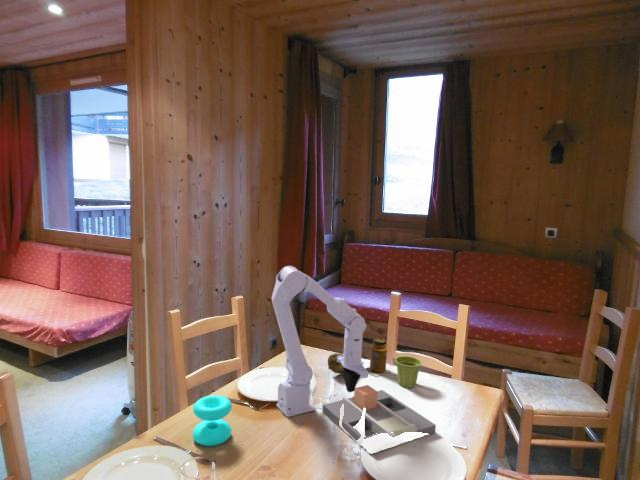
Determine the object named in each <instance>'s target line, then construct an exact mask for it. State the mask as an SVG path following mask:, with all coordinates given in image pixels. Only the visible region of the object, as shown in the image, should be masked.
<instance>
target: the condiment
mask: <svg viewBox="0 0 640 480" xmlns="http://www.w3.org/2000/svg"><path fill="white" fill-rule="evenodd" d="M387 352H388V348H387V340H386V339H385V338H380V337H379V338H373V339H372V344H371V346H370V357H369V358H370V361H369V366H368V367H364V368H365V369H366V370H367V371H368V375H372V376H374V377H376V378H377V377H379V376H382V375H385V374H386V373H389V372H390V371H391V370H389V369H387Z"/></svg>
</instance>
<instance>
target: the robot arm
mask: <svg viewBox="0 0 640 480" xmlns="http://www.w3.org/2000/svg"><path fill="white" fill-rule="evenodd" d="M300 292H304V293H311V294H312V295H314V296H315V297H316V298H317V299H319V300H320V301H321V302H322V303H324V304H325V305H326V311H327V313H329V314H330V315H331V316H332V317H333V318H334V319H336V320H337V321H338V322H339V323H340V324H342V326H344V335H343V336H344V338H343V355H340V356H337V362H341V364H342V366H343V367H344V368H342V369H341V372H342V374H343V375H342V374H341V375H342V376H343V378H344V379H343V380H344V383H345V389H346V391H347V392H348V393H352V392H355V388H357V383H358V382H359V380H360V378H362V379H366V378H368V377H369V373H368V371H367V370H366V369H365V368H366V367H365V366H364V361H362V354H363V353H362V350H363V336H364V335H363V334H364V332H365V331H366V329H367V326H368V325H367V323H366V321H365V318H364V317H363V316H362V315H360V314H359V313H358V312H357V311H358V310H357V309H356V308H354V307H351V306H350V305H349V304H347V301H348V300H346V299H345V298H343V297H342V298H341V297H339V296H338V297H333V295H331V294H330V293H329V292H328V291H327V290H326V289H324V288H323V286H322V285H321V284H319V283H318V282H317V281H316V280H314V278H312V277H311V276H309V275H307V274H305V273H303V272H302V271H300V270H298V268H297V267H295V266H293V265H287V266H284V267H282V268H281V270H279V272H278V274H276V276H275V284H274V288H273V291H272V295H271V302H272V307H273V309H274V314H275V317H276V320H277V323H278V327H279V331H280V334H281V339H282V342H283V346H284V348H285V349H284V350H285V357H286V362H285V368H286V370H287V371H288V375H287V377H286V380H285V381H283V382H281V383H279V385H278V387H277V403H276V407H277V408H278V409H279V410H280V412H281V413H283V414H284V416H285V417H287V418H289V417H294V416H297V415H300V414H304V413H308V412H313V411H316V410H315V409H316V408H315V407H313V405H311V403H310V397H311V396H310V394H311V393H310V392H311V380H312V378H313V376H314V371H313V369H312V367H311V366H310V365H309V364H308V362H307V359H306V356H305V354H304V352H303V348H302V345H301V342H300V337H299V334H298V331H297V326H296V324H295V323H296V322H295V319H294V316H293V312H292V308H291V305H290V302H291V301H292V300H293V298H295V296H296V295H298V294H299V293H300Z"/></svg>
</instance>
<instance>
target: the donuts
mask: <svg viewBox="0 0 640 480" xmlns="http://www.w3.org/2000/svg"><path fill="white" fill-rule="evenodd" d="M232 404H233V403H232V402H231V400H230V398H227V397H226V396H223V395H217V394H216V395H215V394H213V395H207V396H203V397H201V398H199V399H198V400H197V401H196V402H195V403H194V404H193V410H192V411H193V413H194V415H195V416H196V418H198V419H200V420H201V422H199V423H198V424H197V425H196V426H195V427H194V429H193V431H192V437H193V439H194V441H195V442H196V443H197V444H198V445H199V444H200V445H201V446H206V447H213V446H218V445H221V444H223V443H225V442H226V441H227V440H228V439H229V438H230V437H231V435H232V427H231V425H230V424H229V422H228V421H226V420H223V419H224V418H225V417H227V416H228V415H229V414H230V413H231V411H232V407H233V405H232Z"/></svg>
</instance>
